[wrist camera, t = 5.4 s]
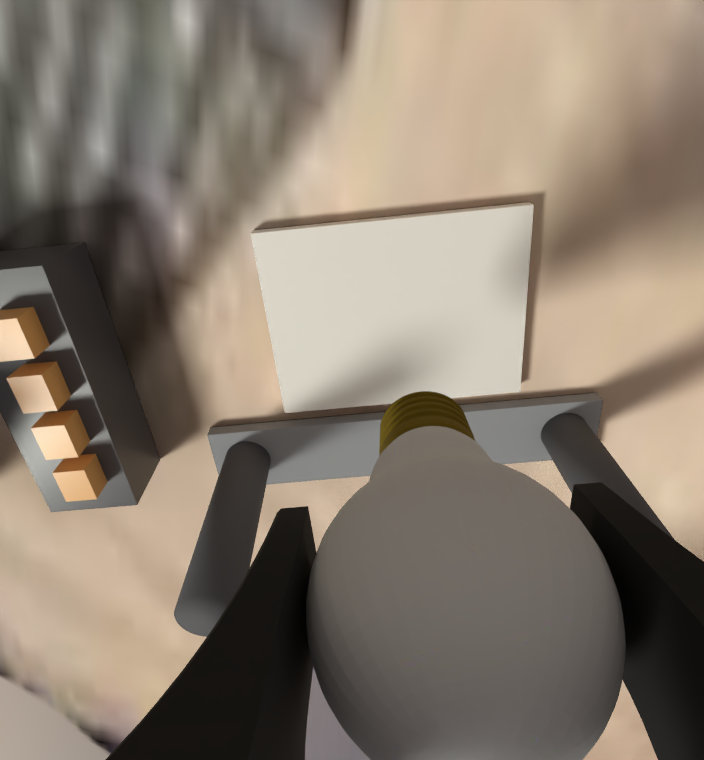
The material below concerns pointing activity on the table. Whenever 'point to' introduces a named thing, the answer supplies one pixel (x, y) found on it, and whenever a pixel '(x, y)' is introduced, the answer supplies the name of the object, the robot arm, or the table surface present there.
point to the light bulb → (461, 605)
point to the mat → (397, 305)
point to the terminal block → (69, 382)
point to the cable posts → (357, 458)
